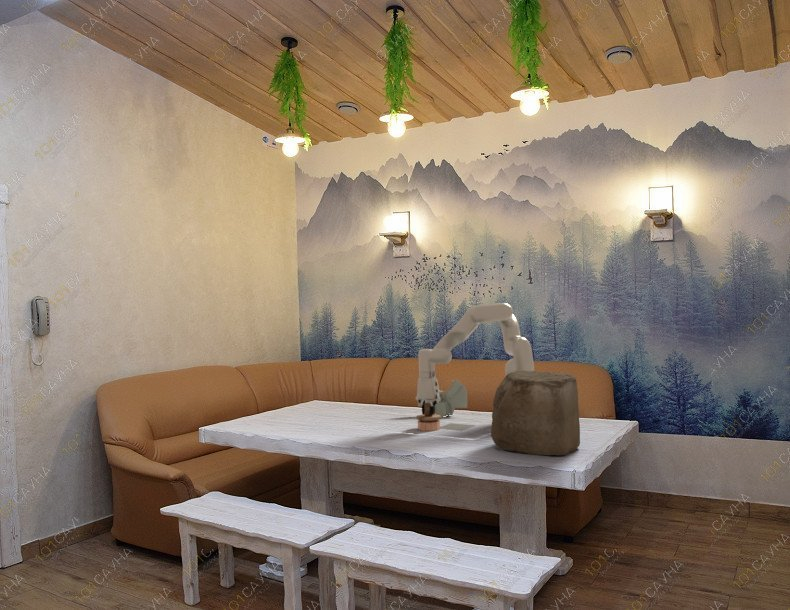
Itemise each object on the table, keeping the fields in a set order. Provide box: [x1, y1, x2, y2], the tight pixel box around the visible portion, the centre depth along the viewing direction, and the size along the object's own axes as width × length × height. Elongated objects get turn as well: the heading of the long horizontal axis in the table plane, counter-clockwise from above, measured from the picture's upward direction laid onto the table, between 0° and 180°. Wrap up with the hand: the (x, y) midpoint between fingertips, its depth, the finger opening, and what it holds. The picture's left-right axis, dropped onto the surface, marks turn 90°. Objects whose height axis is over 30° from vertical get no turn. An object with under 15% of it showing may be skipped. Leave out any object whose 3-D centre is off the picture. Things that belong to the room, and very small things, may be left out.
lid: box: [415, 403, 442, 421], centre depth 300 cm, size 12×12×7 cm
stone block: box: [490, 370, 581, 456], centre depth 254 cm, size 35×25×30 cm
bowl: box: [417, 419, 441, 432], centre depth 300 cm, size 10×10×4 cm
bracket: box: [417, 378, 468, 417], centre depth 338 cm, size 28×7×20 cm, turn 67°
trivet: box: [439, 422, 477, 431], centre depth 303 cm, size 14×14×1 cm
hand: (428, 413), depth 300 cm, fingers closed on lid, 3 cm apart
